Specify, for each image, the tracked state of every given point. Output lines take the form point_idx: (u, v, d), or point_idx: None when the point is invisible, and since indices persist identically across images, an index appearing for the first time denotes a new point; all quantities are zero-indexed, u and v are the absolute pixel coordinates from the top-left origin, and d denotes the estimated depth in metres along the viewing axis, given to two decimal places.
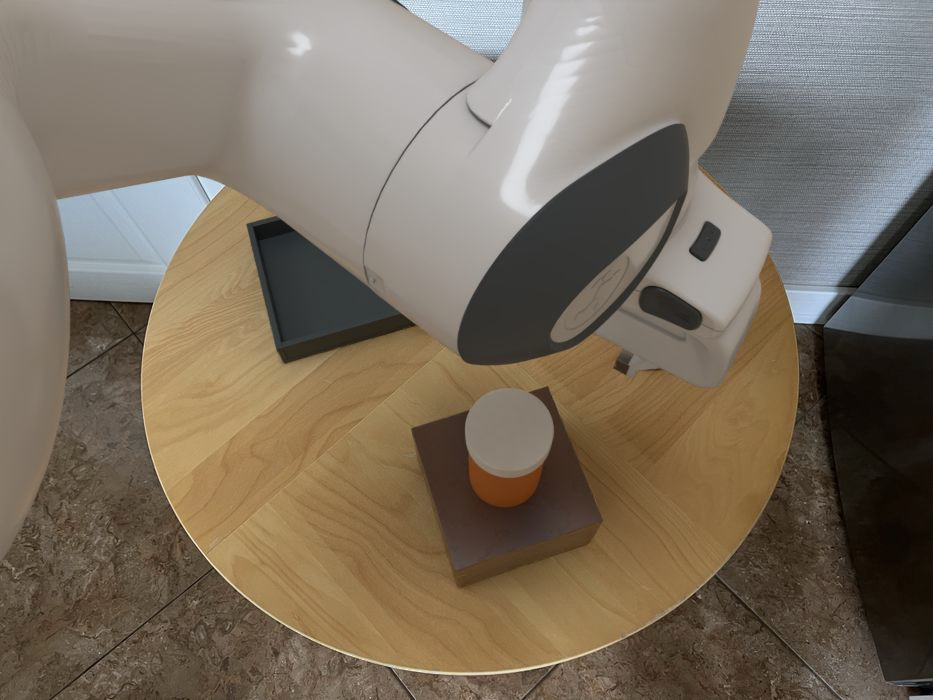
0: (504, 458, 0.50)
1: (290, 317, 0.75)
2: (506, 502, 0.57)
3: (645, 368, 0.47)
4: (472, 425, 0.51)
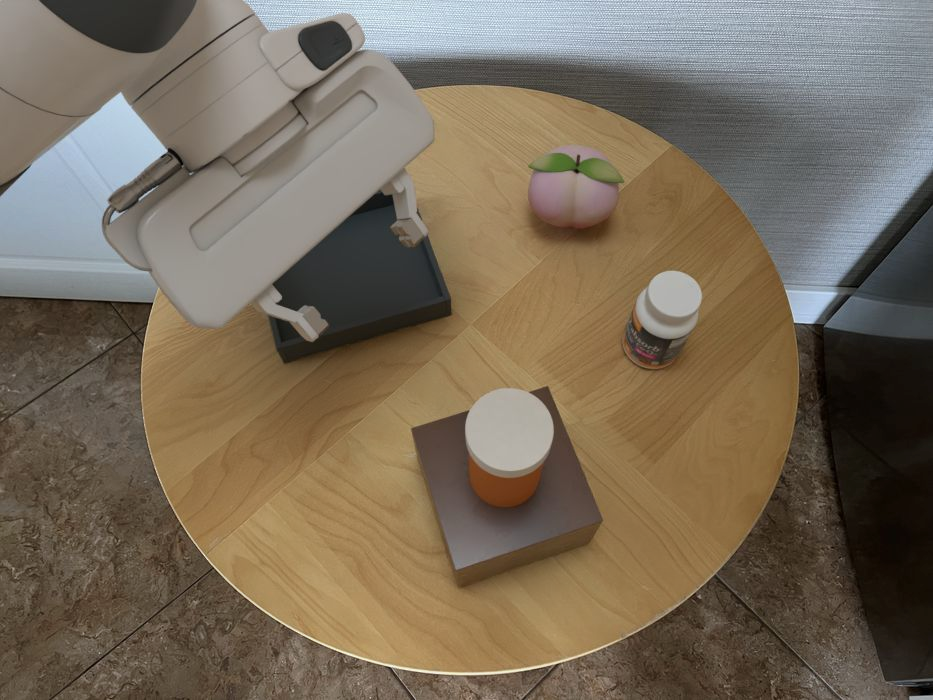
0: (504, 458, 0.50)
1: None
2: (506, 502, 0.57)
3: (414, 198, 0.50)
4: (472, 425, 0.51)
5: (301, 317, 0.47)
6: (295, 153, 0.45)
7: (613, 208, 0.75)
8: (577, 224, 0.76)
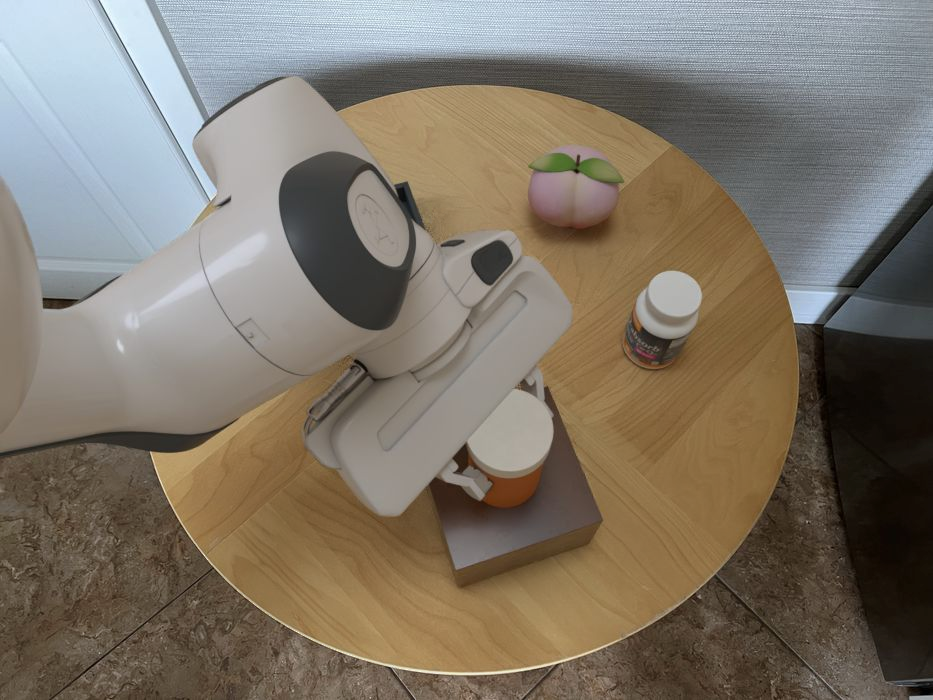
0: (504, 458, 0.50)
1: None
2: (506, 503, 0.57)
3: (542, 388, 0.55)
4: None
5: (472, 481, 0.52)
6: (461, 353, 0.50)
7: (613, 208, 0.75)
8: (577, 224, 0.76)
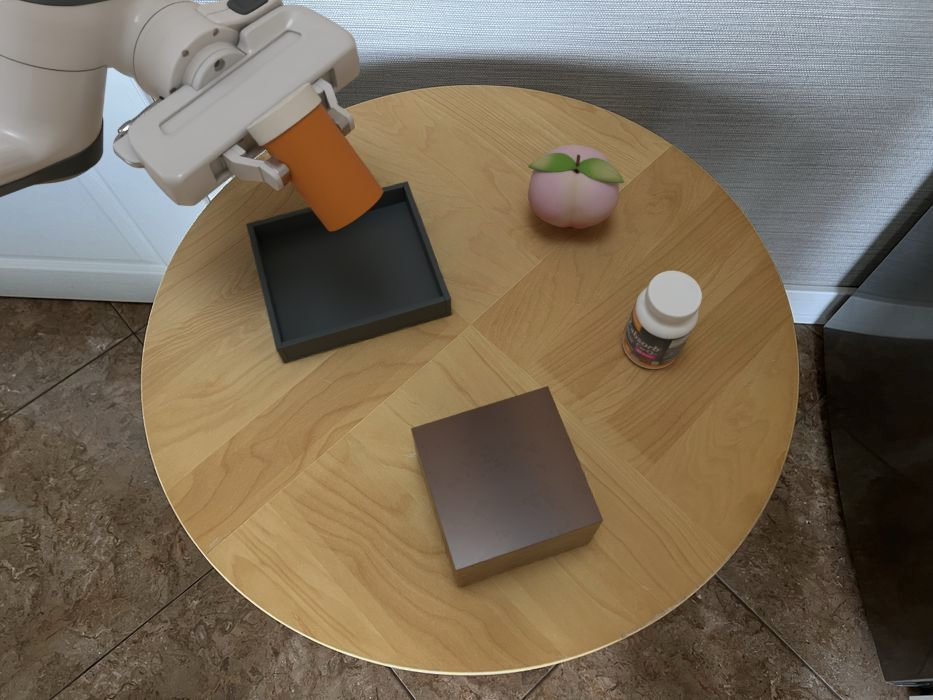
0: (264, 116, 0.56)
1: (290, 317, 0.75)
2: (336, 211, 0.59)
3: (333, 95, 0.61)
4: None
5: (262, 163, 0.58)
6: (239, 73, 0.61)
7: (613, 208, 0.75)
8: (577, 224, 0.76)
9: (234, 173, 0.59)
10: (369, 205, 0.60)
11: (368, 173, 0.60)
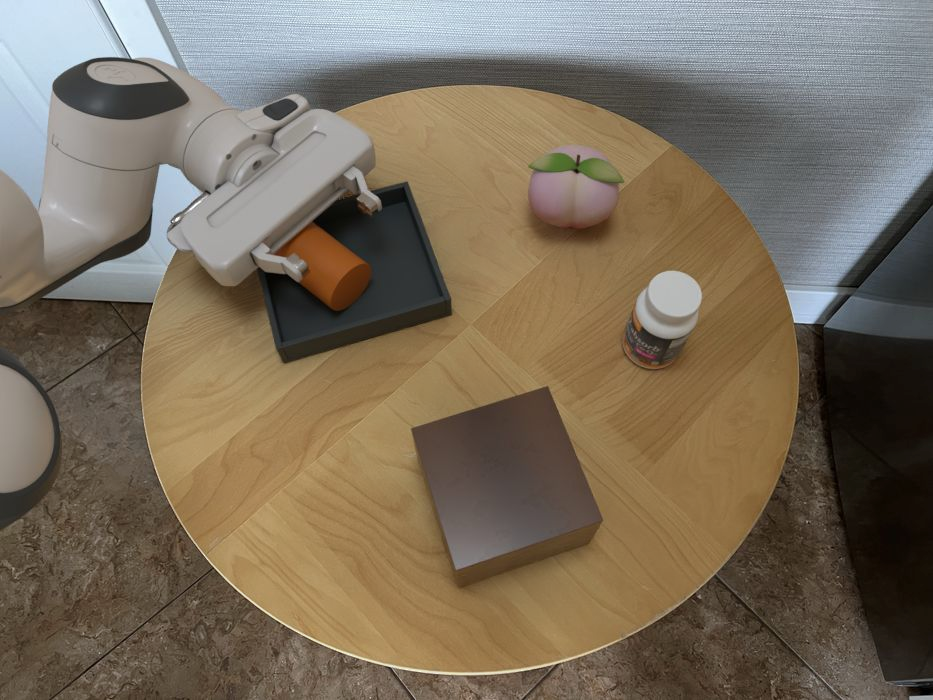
0: None
1: (290, 317, 0.75)
2: (320, 293, 0.72)
3: (363, 181, 0.71)
4: None
5: (285, 259, 0.68)
6: (273, 171, 0.71)
7: (613, 208, 0.75)
8: (577, 224, 0.76)
9: (260, 266, 0.69)
10: (338, 279, 0.71)
11: (340, 254, 0.72)
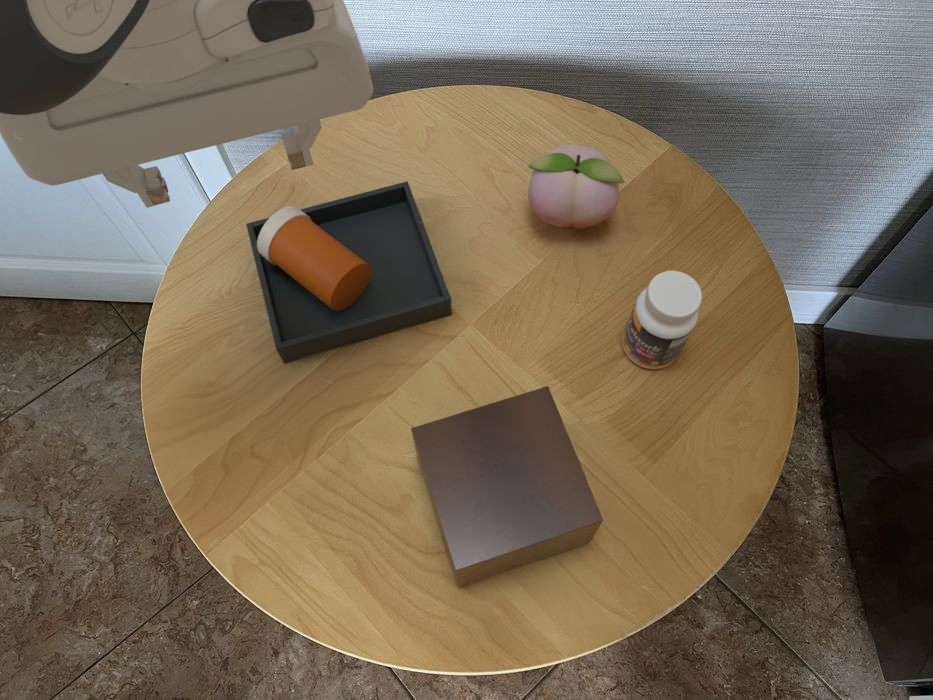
0: None
1: (290, 317, 0.75)
2: (320, 293, 0.72)
3: (313, 139, 0.47)
4: None
5: (143, 191, 0.47)
6: None
7: (613, 208, 0.75)
8: (577, 224, 0.76)
9: None
10: (338, 279, 0.71)
11: (340, 254, 0.72)
